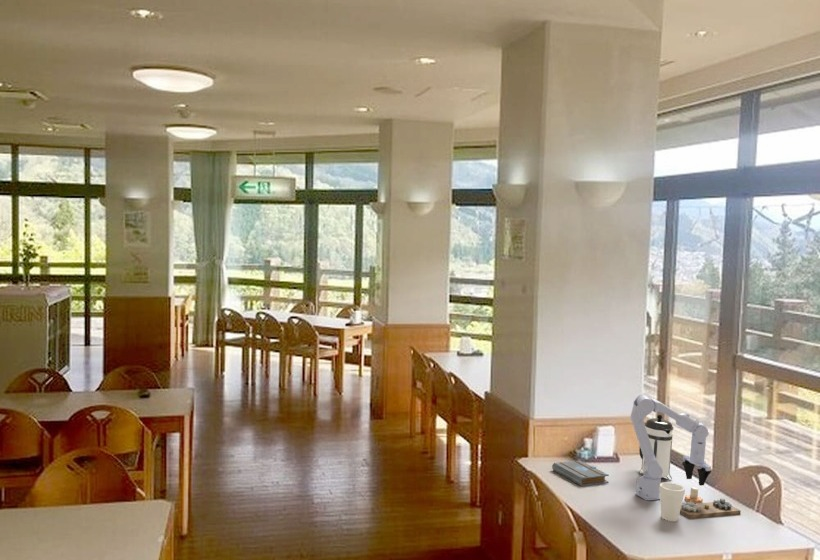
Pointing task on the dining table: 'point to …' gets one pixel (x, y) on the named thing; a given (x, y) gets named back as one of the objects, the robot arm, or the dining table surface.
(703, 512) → the gear board
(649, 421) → the coffee press
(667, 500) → the foam cup
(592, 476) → the book
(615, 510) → the dining table surface
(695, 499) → the loose gear
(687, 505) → the gear
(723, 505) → the gear
